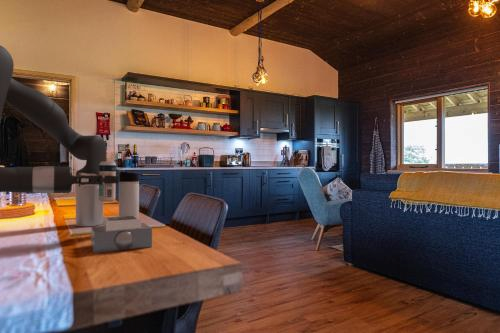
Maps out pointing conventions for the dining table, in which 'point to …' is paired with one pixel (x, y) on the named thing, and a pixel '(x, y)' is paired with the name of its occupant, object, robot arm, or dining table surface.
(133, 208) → the travel mug
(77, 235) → the dining table surface
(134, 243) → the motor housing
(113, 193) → the beer can
